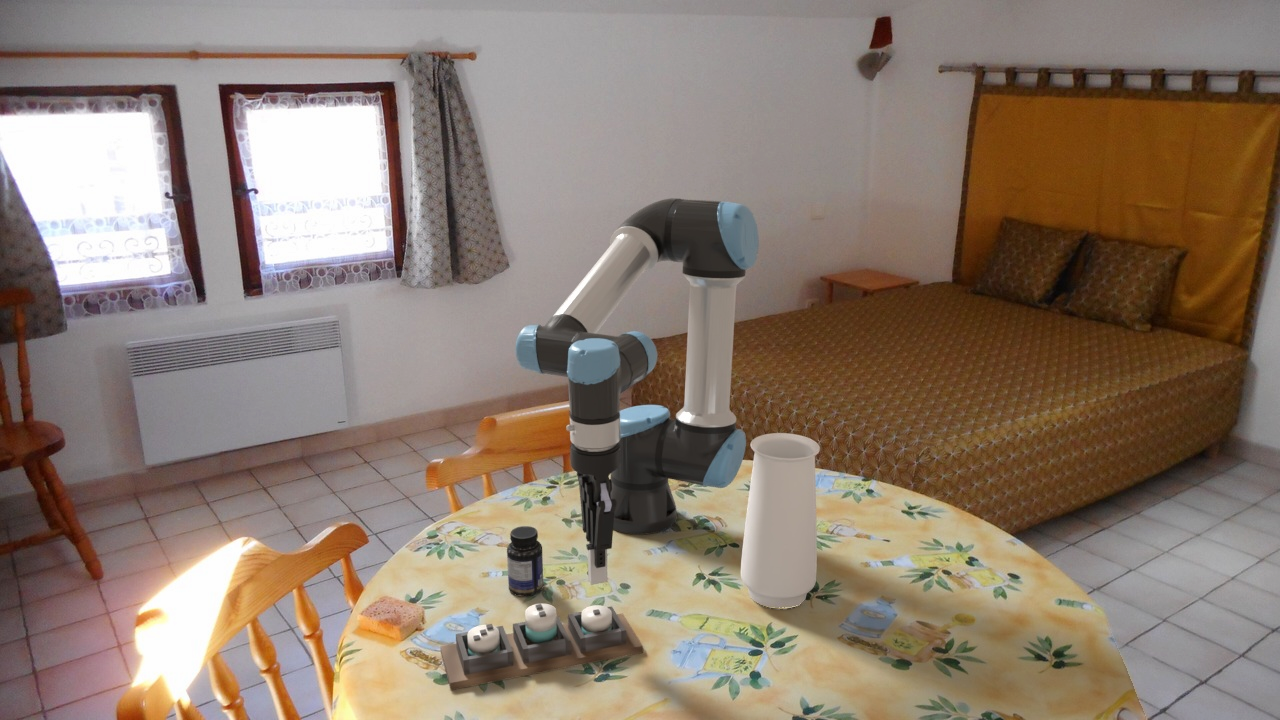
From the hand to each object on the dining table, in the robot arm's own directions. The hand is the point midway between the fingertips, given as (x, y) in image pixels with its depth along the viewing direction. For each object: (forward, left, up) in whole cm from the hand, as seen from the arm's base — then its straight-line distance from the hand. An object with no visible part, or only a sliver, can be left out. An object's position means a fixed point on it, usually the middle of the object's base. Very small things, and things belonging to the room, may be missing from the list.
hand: (597, 581), depth 154 cm
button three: (+18, 0, -9) cm, 21 cm away
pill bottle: (+7, -20, -11) cm, 24 cm away
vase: (-34, -4, -11) cm, 36 cm away
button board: (+9, 0, -11) cm, 14 cm away
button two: (+9, 0, -7) cm, 12 cm away
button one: (0, 0, -10) cm, 9 cm away
